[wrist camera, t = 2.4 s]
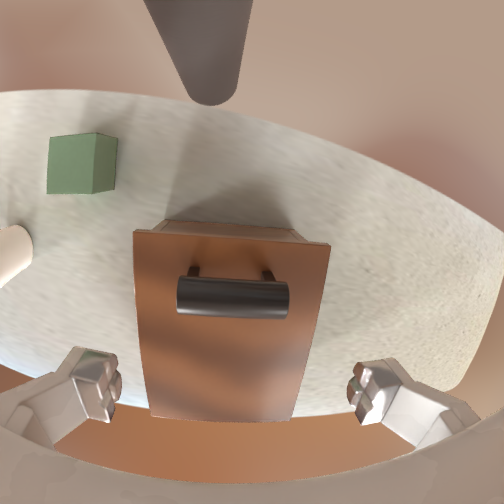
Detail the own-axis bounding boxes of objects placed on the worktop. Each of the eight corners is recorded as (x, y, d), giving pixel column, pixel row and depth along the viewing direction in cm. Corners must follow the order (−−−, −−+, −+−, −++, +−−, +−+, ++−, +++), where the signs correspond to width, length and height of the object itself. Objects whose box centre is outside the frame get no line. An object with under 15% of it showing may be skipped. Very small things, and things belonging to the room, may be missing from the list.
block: (75, 140, 22) (49, 137, 18) (118, 138, 23) (96, 132, 18) (72, 189, 24) (46, 194, 19) (114, 189, 24) (92, 194, 20)
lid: (136, 229, 17) (104, 251, 12) (327, 242, 19) (362, 269, 13) (152, 409, 21) (142, 454, 16) (288, 415, 23) (300, 458, 18)
